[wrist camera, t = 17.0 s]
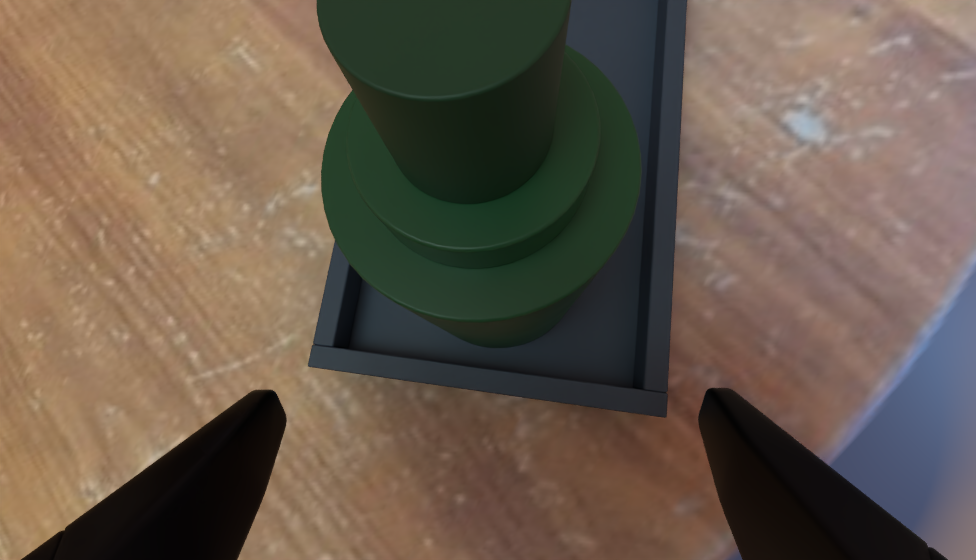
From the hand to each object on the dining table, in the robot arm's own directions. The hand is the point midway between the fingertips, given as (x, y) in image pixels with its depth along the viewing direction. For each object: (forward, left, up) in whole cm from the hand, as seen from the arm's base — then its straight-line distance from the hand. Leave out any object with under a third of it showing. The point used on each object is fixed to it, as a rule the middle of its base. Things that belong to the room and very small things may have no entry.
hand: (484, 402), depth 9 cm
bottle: (+3, -3, -7) cm, 9 cm away
